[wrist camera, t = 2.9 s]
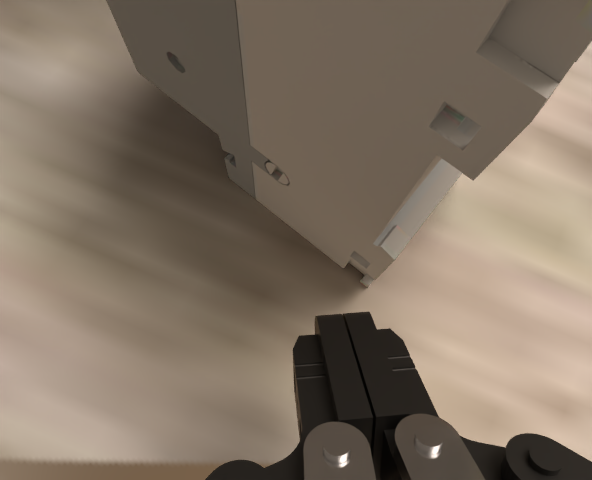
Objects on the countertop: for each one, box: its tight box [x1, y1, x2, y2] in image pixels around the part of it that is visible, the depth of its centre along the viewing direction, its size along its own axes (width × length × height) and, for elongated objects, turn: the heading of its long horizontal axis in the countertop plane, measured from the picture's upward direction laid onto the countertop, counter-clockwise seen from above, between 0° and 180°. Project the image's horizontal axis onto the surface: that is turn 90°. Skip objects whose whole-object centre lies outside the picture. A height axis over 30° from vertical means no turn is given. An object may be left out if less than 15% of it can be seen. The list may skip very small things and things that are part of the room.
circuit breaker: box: [106, 0, 592, 288], centre depth 14 cm, size 8×14×15 cm, turn 51°
